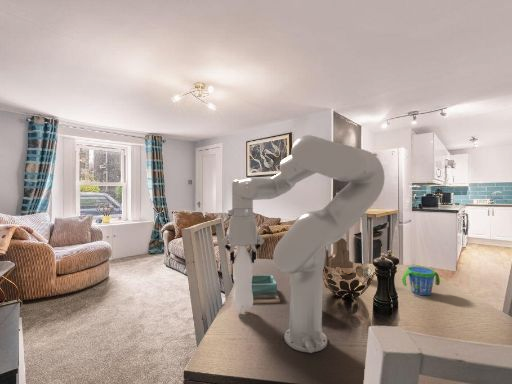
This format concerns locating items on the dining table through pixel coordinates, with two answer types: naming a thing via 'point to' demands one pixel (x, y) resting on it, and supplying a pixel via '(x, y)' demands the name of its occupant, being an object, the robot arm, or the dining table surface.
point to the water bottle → (242, 279)
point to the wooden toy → (338, 256)
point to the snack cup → (421, 279)
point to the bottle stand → (264, 289)
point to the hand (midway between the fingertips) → (243, 261)
